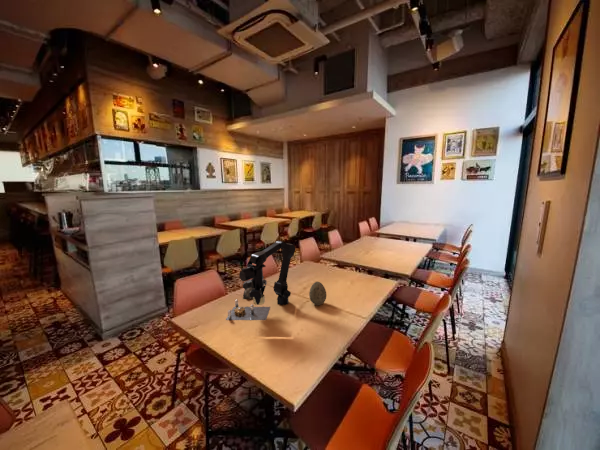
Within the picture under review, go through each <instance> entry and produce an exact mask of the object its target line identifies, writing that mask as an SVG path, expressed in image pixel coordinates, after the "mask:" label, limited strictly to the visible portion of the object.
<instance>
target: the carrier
mask: <svg viewBox="0 0 600 450" xmlns="http://www.w3.org/2000/svg"><path fill="white" fill-rule="evenodd" d="M234 304H235V305H234V306H233V308H232V309H229V310H227V317H226V319H225V321H266V320H267V318H268V315H269V313H270V310H271V306H254V305H255V304H254V303H253V304H250V306H239V299H237V298H236V299H235V300H234Z"/></svg>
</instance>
